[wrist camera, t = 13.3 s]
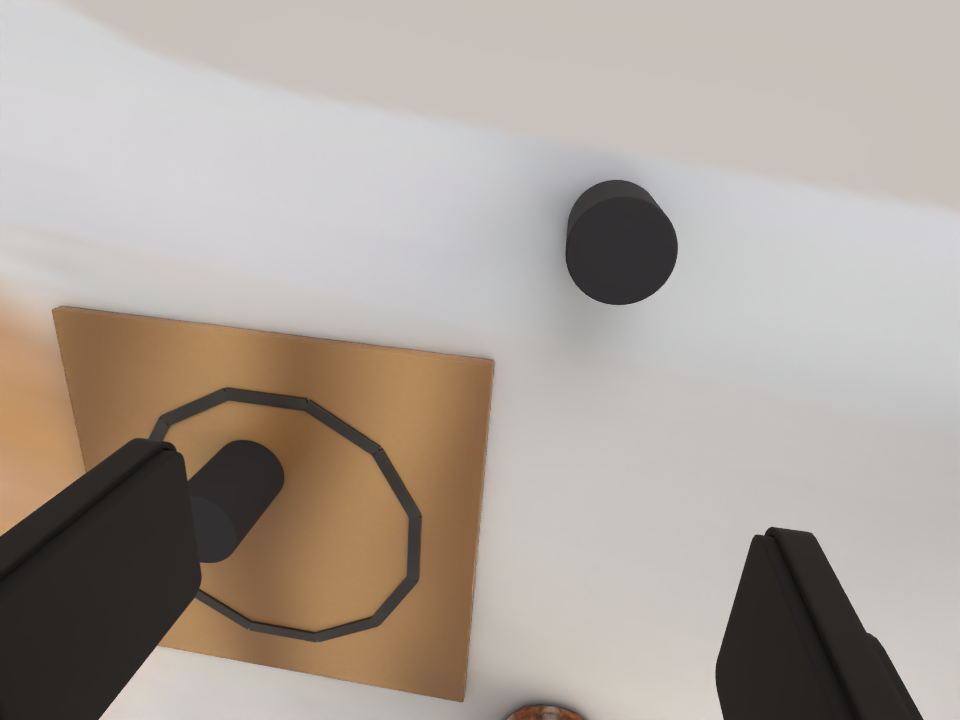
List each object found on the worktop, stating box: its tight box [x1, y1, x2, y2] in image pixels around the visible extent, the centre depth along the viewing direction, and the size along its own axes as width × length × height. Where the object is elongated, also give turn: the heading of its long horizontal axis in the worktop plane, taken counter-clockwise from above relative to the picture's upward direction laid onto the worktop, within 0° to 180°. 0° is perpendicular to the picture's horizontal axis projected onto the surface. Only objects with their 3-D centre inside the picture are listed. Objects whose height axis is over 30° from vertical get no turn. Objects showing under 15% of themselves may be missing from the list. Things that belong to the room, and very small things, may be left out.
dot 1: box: [566, 180, 678, 305], centre depth 21 cm, size 3×3×4 cm
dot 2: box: [188, 440, 284, 563], centre depth 27 cm, size 3×3×4 cm
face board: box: [52, 306, 495, 702], centre depth 31 cm, size 20×20×1 cm
